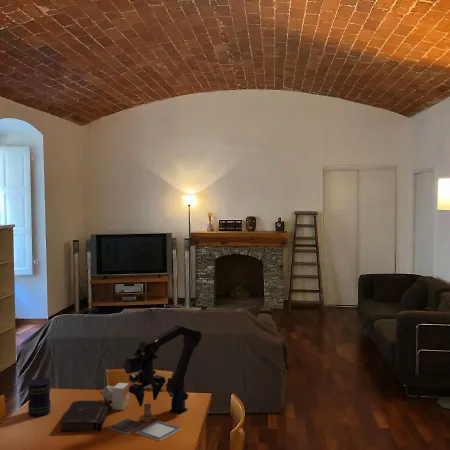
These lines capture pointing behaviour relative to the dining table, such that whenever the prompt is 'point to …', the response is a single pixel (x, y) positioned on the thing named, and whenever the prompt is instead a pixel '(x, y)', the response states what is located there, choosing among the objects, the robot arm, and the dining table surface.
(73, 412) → the diary
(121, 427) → the ink pad
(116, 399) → the small box
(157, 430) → the print sheet
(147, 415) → the stamp
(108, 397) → the game die
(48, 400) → the storage jar
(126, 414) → the dining table surface
